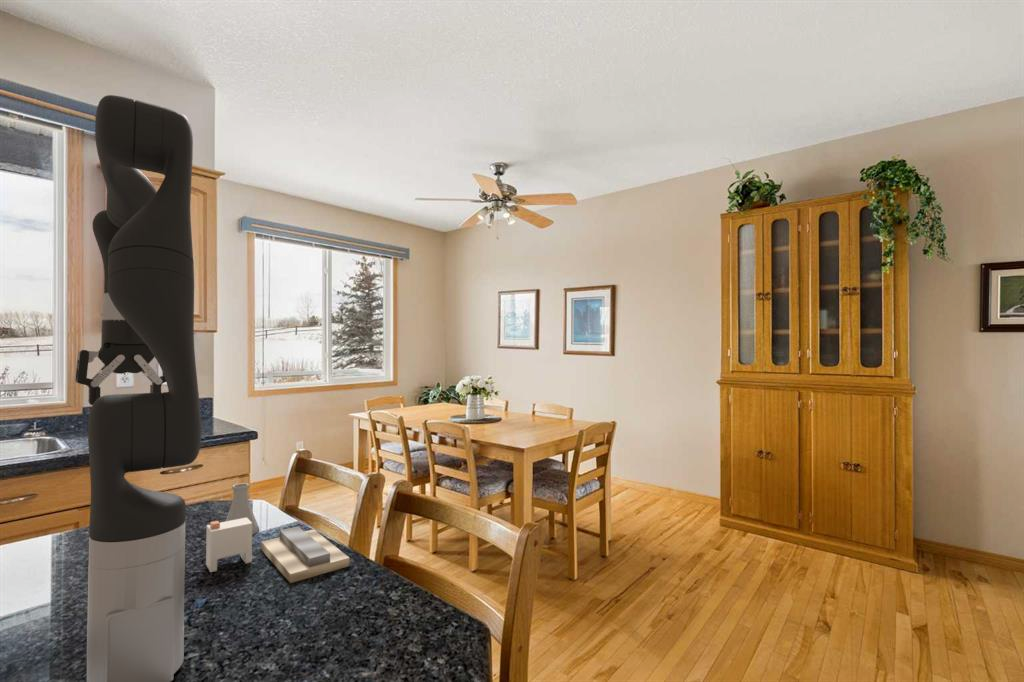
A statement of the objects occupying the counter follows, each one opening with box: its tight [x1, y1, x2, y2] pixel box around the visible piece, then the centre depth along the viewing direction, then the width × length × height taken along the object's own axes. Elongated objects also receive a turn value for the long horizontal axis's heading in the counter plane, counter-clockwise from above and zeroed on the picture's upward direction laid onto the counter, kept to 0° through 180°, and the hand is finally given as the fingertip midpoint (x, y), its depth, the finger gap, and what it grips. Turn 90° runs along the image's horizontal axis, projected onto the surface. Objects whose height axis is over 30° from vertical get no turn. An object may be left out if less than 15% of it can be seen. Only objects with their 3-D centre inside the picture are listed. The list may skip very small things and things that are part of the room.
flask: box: [224, 482, 260, 536], centre depth 104 cm, size 7×7×10 cm
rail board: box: [260, 525, 350, 584], centre depth 92 cm, size 18×10×3 cm, turn 41°
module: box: [205, 517, 253, 573], centre depth 89 cm, size 4×6×8 cm, turn 131°
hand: (126, 406), depth 93 cm, fingers open, 8 cm apart
